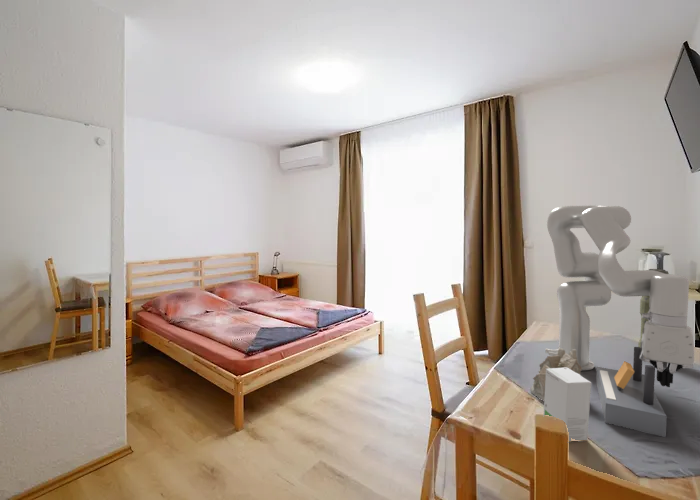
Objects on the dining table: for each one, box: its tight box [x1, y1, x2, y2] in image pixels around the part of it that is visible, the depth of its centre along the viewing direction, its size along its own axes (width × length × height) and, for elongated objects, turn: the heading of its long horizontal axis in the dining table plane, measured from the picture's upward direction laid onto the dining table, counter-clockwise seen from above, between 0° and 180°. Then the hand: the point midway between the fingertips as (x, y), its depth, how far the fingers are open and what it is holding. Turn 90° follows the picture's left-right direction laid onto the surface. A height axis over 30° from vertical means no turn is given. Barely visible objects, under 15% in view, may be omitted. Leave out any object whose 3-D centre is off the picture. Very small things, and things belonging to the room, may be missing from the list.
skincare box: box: [543, 367, 592, 441], centre depth 84 cm, size 8×7×16 cm
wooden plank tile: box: [614, 361, 634, 391], centre depth 96 cm, size 2×6×7 cm, turn 149°
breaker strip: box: [595, 366, 668, 438], centre depth 96 cm, size 12×26×6 cm, turn 147°
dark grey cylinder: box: [632, 346, 643, 382], centre depth 100 cm, size 2×2×10 cm
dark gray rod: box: [643, 364, 656, 405], centre depth 87 cm, size 2×2×10 cm
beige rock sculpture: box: [529, 348, 583, 401], centre depth 106 cm, size 16×16×15 cm
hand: (664, 384), depth 91 cm, fingers closed
